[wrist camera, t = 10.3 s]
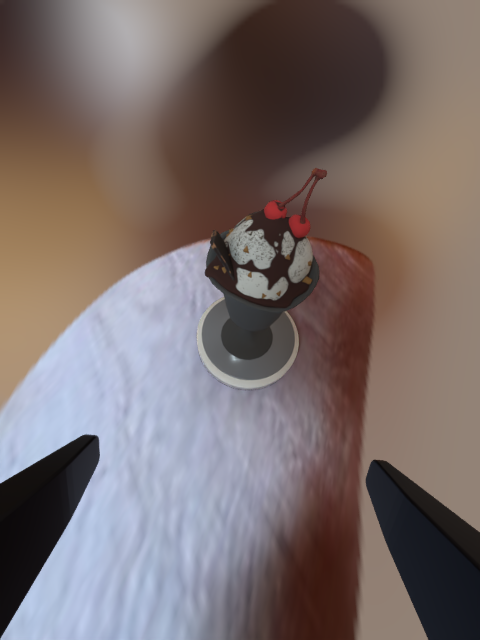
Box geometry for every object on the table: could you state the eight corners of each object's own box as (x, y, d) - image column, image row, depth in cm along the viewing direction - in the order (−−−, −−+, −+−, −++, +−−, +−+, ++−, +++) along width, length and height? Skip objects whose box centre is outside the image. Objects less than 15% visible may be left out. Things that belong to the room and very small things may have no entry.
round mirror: (307, 378, 23) (315, 373, 22) (205, 400, 22) (204, 395, 20) (278, 295, 28) (282, 285, 26) (192, 307, 26) (190, 297, 24)
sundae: (292, 325, 24) (380, 167, 11) (261, 382, 21) (332, 262, 8) (235, 295, 25) (251, 122, 12) (198, 345, 22) (166, 187, 9)
